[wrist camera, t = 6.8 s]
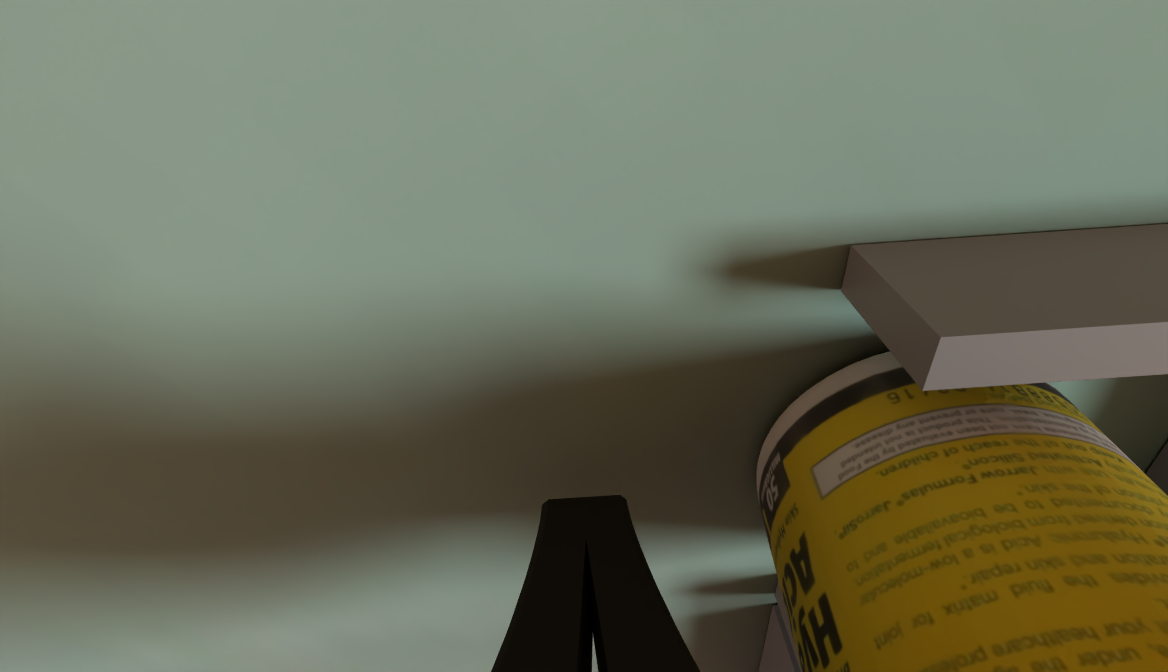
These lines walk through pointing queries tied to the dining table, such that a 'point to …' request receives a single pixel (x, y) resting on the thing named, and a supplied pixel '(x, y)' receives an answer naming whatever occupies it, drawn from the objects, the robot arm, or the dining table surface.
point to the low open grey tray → (1010, 321)
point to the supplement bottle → (960, 531)
